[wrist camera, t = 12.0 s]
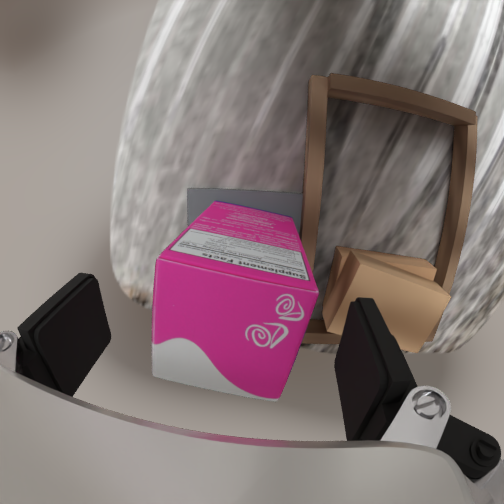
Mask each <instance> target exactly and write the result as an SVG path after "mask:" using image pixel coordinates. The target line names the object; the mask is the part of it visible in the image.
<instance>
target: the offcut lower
mask: <svg viewBox="0 0 504 504" xmlns="http://www.w3.org/2000/svg"><path fill="white" fill-rule="evenodd" d="M350 250H352V251H355V252H358V253H360V254H363V255H366V256H369V257H371V258H374V259H377V260H379V261H382V262H385V263H387V264H390V265H393V266H395V267H398V268H401V269H403V270H406V271H408V272H411V273H413V274H416V275H419V276H421V277H424V278H426V279H429V280H431V281H433V280H434V277H435V274H436V271H437V269H436V268H435V267H434V266H433V265H431V264H430V263H429V262H428V261H427V260H425V259H421V258H414V257H408V256H401V255H395V254H388V253H381V252H375V251H368V250H361V249H354V248H347V247H340V246H336V248H335V253H334V258H333V262H332V267H331V271H330V276H329V280H328V284H327V288H326V293H325V297H324V301H323V309H324V307H325V305H326V302H327V300H328V298H329V296H330V294H331V292H332V290H333V288H334V286H335V284H336V282H337V279H338V277H339V275H340V273H341V271H342V268H343V266H344V264H345V262H346V259H347V257H348V255H349V252H350Z"/></svg>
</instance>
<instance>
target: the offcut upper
mask: <svg viewBox="0 0 504 504" xmlns="http://www.w3.org/2000/svg"><path fill="white" fill-rule="evenodd" d="M357 297H361V298H373V299H374V301H375V303H376V305H377V307H378V309H379V311H380V313H381V315H382V317H383V319H384V321H385V323H386V325H387V327H388V329H389V331H390V333H391V334H392V335H394V337H395V338H396V340H397V342H398V345H399V347H400V349H401V350H405V351H410V352H414V353H418V351H419V350H420V348H421V347H422V345H423V344H424V342H425V341H426V339H427V338H428V336H429V335H430V333H431V331H432V330H433V328H434V327H435V325H436V323H437V322H438V320H439V318H440V316H441V315H442V313H443V311H444V310H445V308H446V306H447V304H448V302H449V301H450V299H451V296H450V295H449V294H448V293H447V292H446V291H445V290H444V289H442V288H441V287H440V286H439V285H438V284H437V283H436V282H434V281H431V280H429V279H426V278H424V277H421V276H419V275H416V274H413V273H411V272H408V271H406V270H403V269H401V268H398V267H395V266H393V265H390V264H387V263H385V262H382V261H379V260H377V259H374V258H371V257H369V256H366V255H363V254H360V253H358V252H355V251H352V250H350V252H349V255H348V257H347V259H346V262H345V264H344V266H343V268H342V271H341V273H340V275H339V277H338V279H337V282H336V284H335V286H334V288H333V290H332V292H331V294H330V296H329V298H328V300H327V302H326V305H325V307H324V309H323V311H322V314H323V318H324V322H325V326H326V330H327V332H331V333H335V334H339V335H342V333H343V329H344V325H345V321H346V317H347V313H348V309H349V305H350V302H351V301H355V300H356V298H357Z"/></svg>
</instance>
